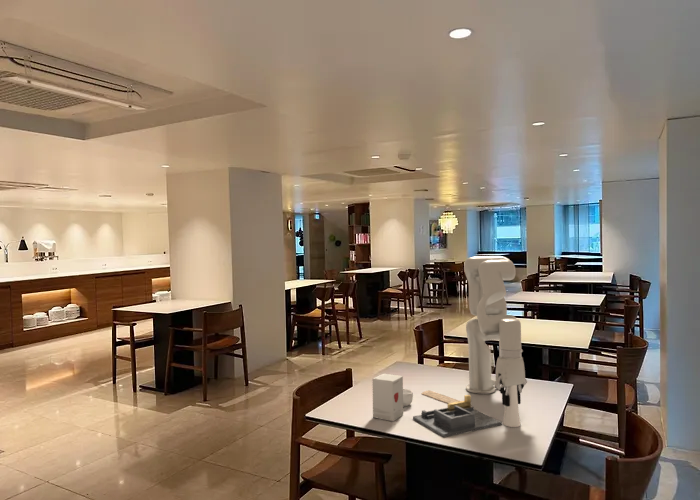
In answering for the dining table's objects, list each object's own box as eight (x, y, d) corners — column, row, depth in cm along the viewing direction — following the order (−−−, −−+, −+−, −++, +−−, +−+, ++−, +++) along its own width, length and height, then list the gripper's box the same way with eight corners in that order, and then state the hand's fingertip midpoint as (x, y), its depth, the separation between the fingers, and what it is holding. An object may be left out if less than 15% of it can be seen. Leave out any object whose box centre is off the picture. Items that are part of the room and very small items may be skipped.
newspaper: (421, 396, 213) (421, 391, 213) (433, 393, 217) (433, 388, 217) (461, 410, 193) (461, 406, 193) (473, 406, 197) (473, 402, 197)
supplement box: (393, 421, 180) (392, 381, 180) (372, 417, 185) (371, 378, 185) (404, 414, 188) (403, 375, 188) (383, 410, 193) (382, 372, 192)
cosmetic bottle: (511, 428, 171) (510, 365, 171) (499, 422, 177) (498, 362, 177) (524, 425, 174) (523, 363, 173) (512, 420, 179) (511, 360, 179)
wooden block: (468, 406, 191) (468, 394, 191) (471, 408, 190) (470, 395, 190) (447, 411, 187) (447, 398, 187) (449, 412, 186) (449, 399, 186)
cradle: (467, 408, 193) (467, 396, 193) (501, 424, 175) (501, 410, 175) (413, 419, 182) (412, 405, 182) (443, 437, 165) (443, 422, 165)
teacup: (416, 406, 197) (416, 393, 197) (399, 408, 194) (398, 395, 194) (405, 399, 206) (405, 386, 206) (388, 401, 204) (388, 388, 204)
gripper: (520, 349, 182) (521, 398, 182) (484, 353, 175) (485, 404, 175) (536, 352, 175) (537, 403, 175) (499, 358, 168) (500, 411, 168)
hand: (511, 403), depth 175 cm, fingers closed on cosmetic bottle, 4 cm apart
